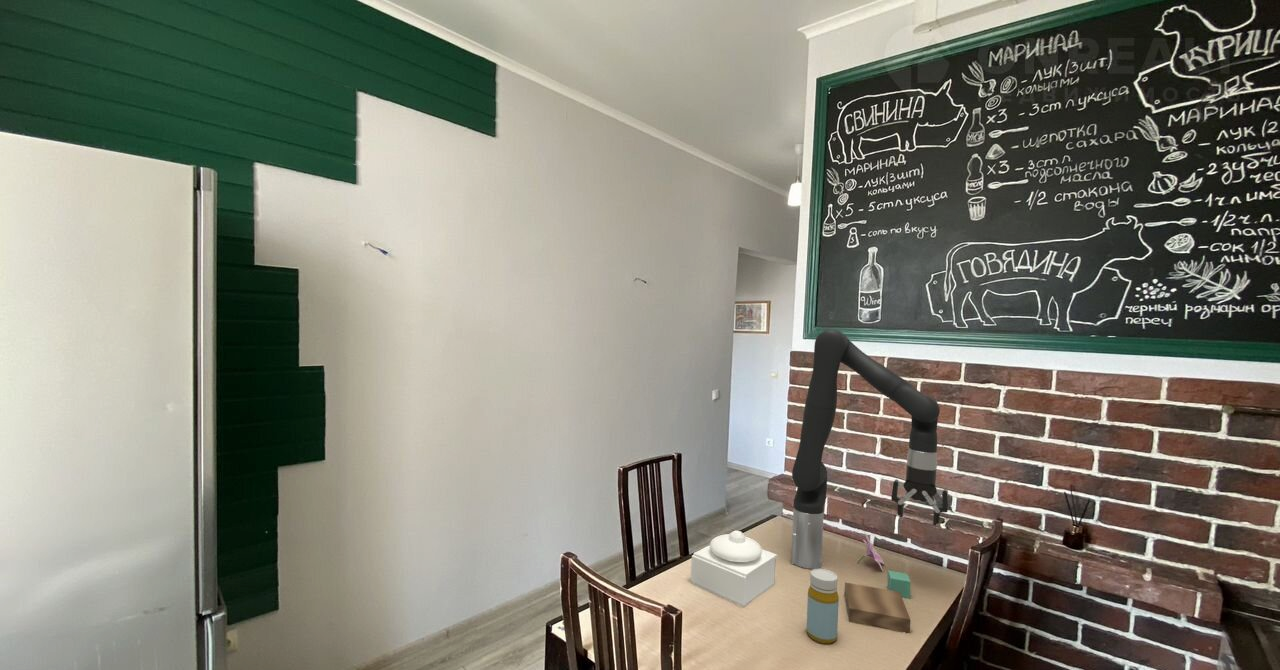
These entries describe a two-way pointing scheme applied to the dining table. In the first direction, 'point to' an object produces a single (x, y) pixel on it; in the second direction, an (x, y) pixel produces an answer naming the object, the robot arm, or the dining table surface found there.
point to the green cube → (899, 583)
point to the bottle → (822, 606)
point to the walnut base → (876, 607)
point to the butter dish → (734, 568)
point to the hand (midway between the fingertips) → (917, 520)
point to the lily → (872, 552)
